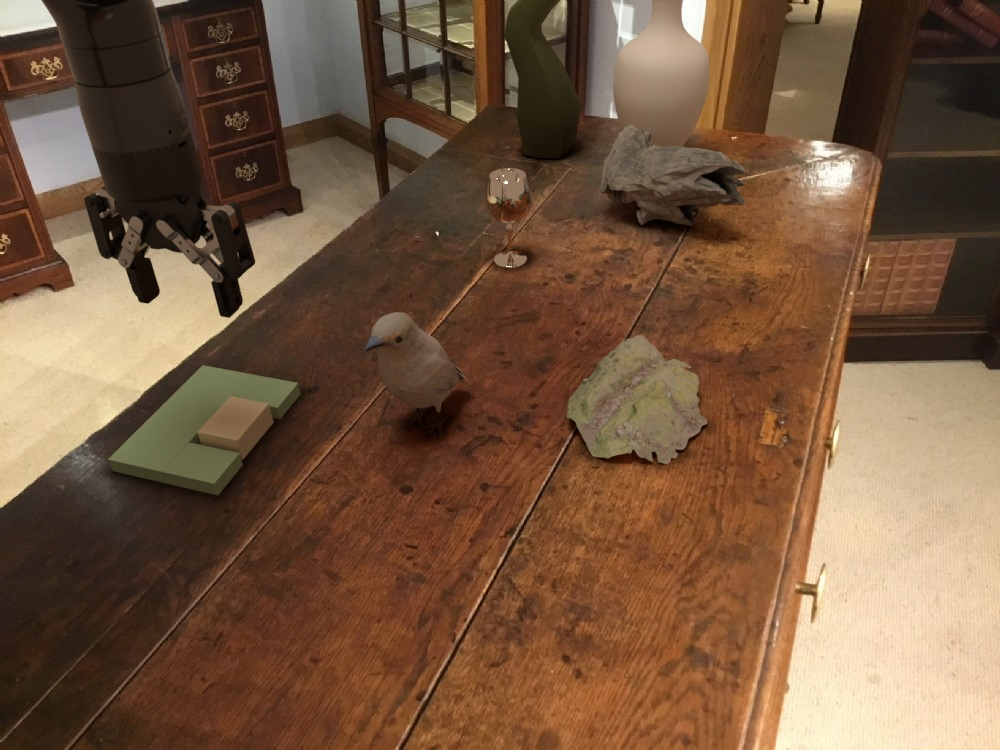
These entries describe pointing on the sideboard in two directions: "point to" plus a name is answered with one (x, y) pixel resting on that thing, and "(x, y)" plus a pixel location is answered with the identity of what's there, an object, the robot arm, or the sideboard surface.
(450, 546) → the sideboard surface
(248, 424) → the cream pad
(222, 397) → the green c-shaped block
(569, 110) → the tentacle
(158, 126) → the robot arm
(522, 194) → the wineglass
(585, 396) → the mossy green rock
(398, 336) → the bird
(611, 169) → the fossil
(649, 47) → the vase
